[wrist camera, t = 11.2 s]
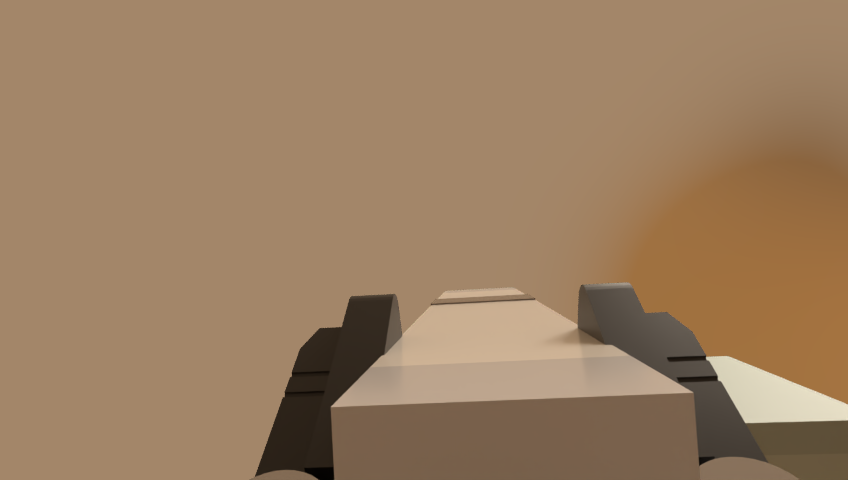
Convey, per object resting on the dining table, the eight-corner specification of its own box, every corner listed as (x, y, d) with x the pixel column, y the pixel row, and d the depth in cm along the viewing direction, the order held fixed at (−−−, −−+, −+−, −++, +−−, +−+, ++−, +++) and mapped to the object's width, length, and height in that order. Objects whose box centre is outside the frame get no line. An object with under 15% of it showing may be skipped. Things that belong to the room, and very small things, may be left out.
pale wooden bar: (724, 774, 5) (695, 387, 5) (346, 771, 5) (328, 402, 5) (518, 355, 27) (513, 286, 27) (449, 358, 27) (445, 290, 27)
